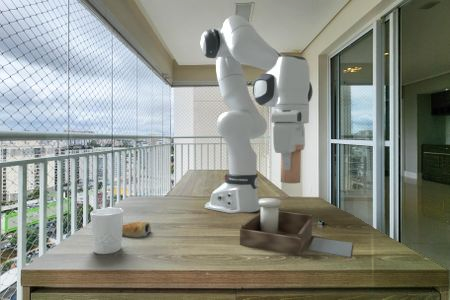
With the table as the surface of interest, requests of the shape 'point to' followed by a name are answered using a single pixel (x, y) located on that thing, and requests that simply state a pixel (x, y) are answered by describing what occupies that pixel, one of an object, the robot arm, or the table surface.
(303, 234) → the wooden tray
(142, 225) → the pastry
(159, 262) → the table surface
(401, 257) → the table surface
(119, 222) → the white cup
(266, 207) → the white glossy domed part
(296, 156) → the peach mushroom knob
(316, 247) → the slate tile
